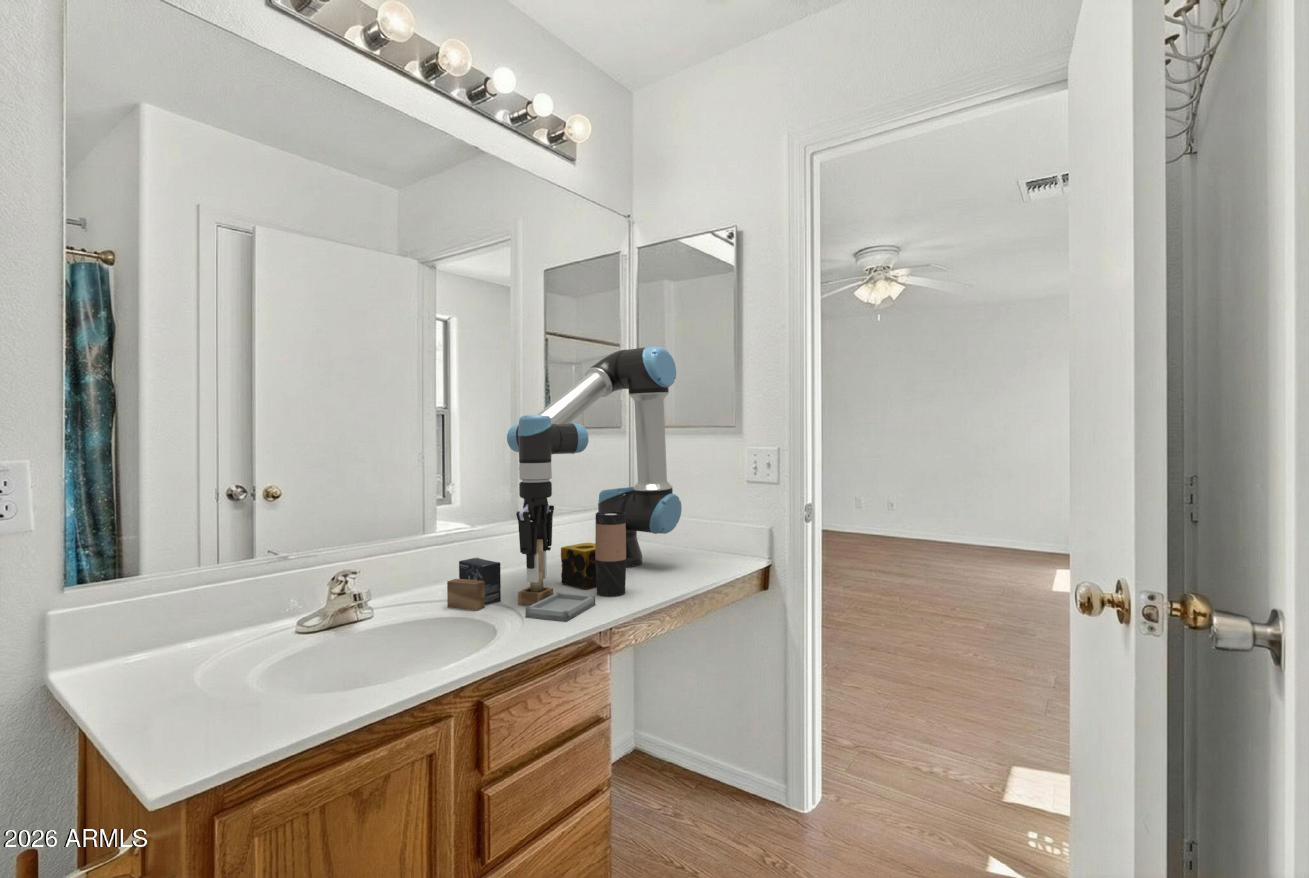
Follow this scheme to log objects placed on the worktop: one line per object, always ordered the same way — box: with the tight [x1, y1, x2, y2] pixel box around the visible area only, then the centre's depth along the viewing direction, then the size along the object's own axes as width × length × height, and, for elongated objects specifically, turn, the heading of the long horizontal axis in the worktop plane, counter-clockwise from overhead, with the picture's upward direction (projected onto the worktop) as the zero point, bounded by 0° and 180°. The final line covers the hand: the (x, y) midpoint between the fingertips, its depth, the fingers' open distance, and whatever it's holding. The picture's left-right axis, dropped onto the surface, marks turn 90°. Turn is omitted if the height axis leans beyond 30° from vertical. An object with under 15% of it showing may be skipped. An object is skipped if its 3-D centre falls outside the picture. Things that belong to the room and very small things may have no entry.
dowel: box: [529, 539, 544, 593], centre depth 148 cm, size 3×3×14 cm
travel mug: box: [595, 511, 627, 598], centre depth 157 cm, size 8×8×20 cm
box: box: [458, 557, 502, 606], centre depth 150 cm, size 9×6×10 cm, turn 52°
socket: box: [517, 586, 555, 607], centre depth 148 cm, size 6×6×3 cm
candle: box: [560, 542, 596, 590], centre depth 167 cm, size 10×10×10 cm
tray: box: [525, 592, 596, 623], centre depth 141 cm, size 14×10×2 cm
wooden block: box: [446, 578, 486, 612], centre depth 144 cm, size 3×8×6 cm, turn 70°
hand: (536, 579), depth 149 cm, fingers closed on dowel, 3 cm apart
